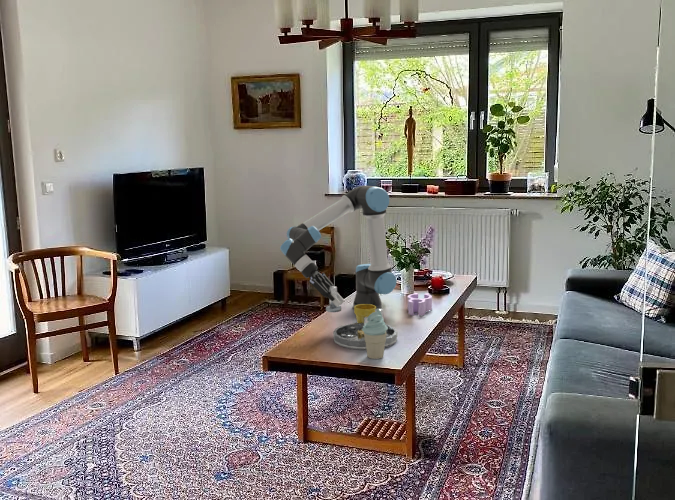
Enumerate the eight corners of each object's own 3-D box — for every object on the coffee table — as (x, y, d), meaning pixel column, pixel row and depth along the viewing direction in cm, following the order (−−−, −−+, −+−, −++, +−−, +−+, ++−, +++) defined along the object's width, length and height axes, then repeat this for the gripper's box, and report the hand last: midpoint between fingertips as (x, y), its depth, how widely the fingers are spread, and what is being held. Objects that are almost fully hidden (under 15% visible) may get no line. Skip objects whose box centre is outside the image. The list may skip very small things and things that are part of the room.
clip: (428, 316, 332) (428, 303, 331) (403, 315, 335) (403, 301, 334) (433, 306, 351) (433, 293, 350) (410, 305, 354) (410, 292, 353)
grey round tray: (347, 327, 315) (346, 302, 313) (405, 333, 305) (405, 307, 302) (323, 345, 290) (322, 318, 288) (385, 352, 279) (385, 324, 277)
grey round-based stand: (329, 307, 313) (328, 284, 311) (343, 308, 310) (342, 285, 308) (323, 311, 307) (322, 288, 305) (337, 312, 304) (337, 289, 302)
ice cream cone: (357, 357, 274) (356, 310, 271) (375, 350, 282) (375, 304, 278) (375, 362, 267) (375, 314, 264) (394, 355, 275) (393, 308, 271)
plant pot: (378, 323, 321) (378, 304, 319) (373, 330, 311) (373, 309, 309) (357, 322, 323) (357, 303, 322) (352, 328, 314) (351, 308, 312)
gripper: (309, 268, 319) (342, 304, 316) (293, 276, 304) (328, 313, 301) (319, 258, 316) (352, 294, 313) (303, 265, 301) (339, 303, 298)
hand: (340, 303), depth 307 cm, fingers closed on grey round-based stand, 4 cm apart
